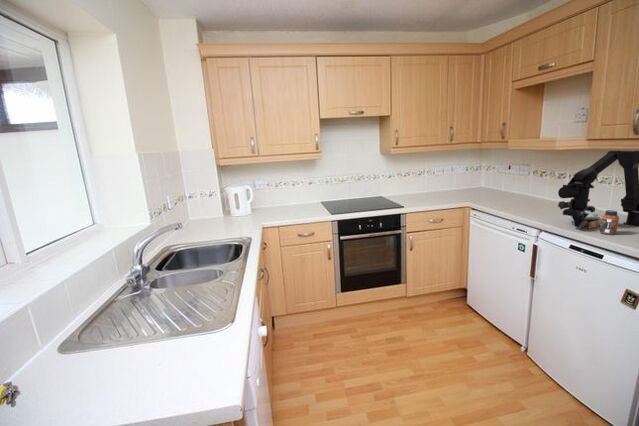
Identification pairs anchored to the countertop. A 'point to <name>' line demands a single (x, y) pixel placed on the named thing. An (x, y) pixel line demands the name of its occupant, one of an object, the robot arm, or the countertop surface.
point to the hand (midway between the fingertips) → (576, 226)
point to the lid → (587, 216)
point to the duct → (593, 222)
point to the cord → (583, 224)
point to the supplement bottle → (609, 223)
